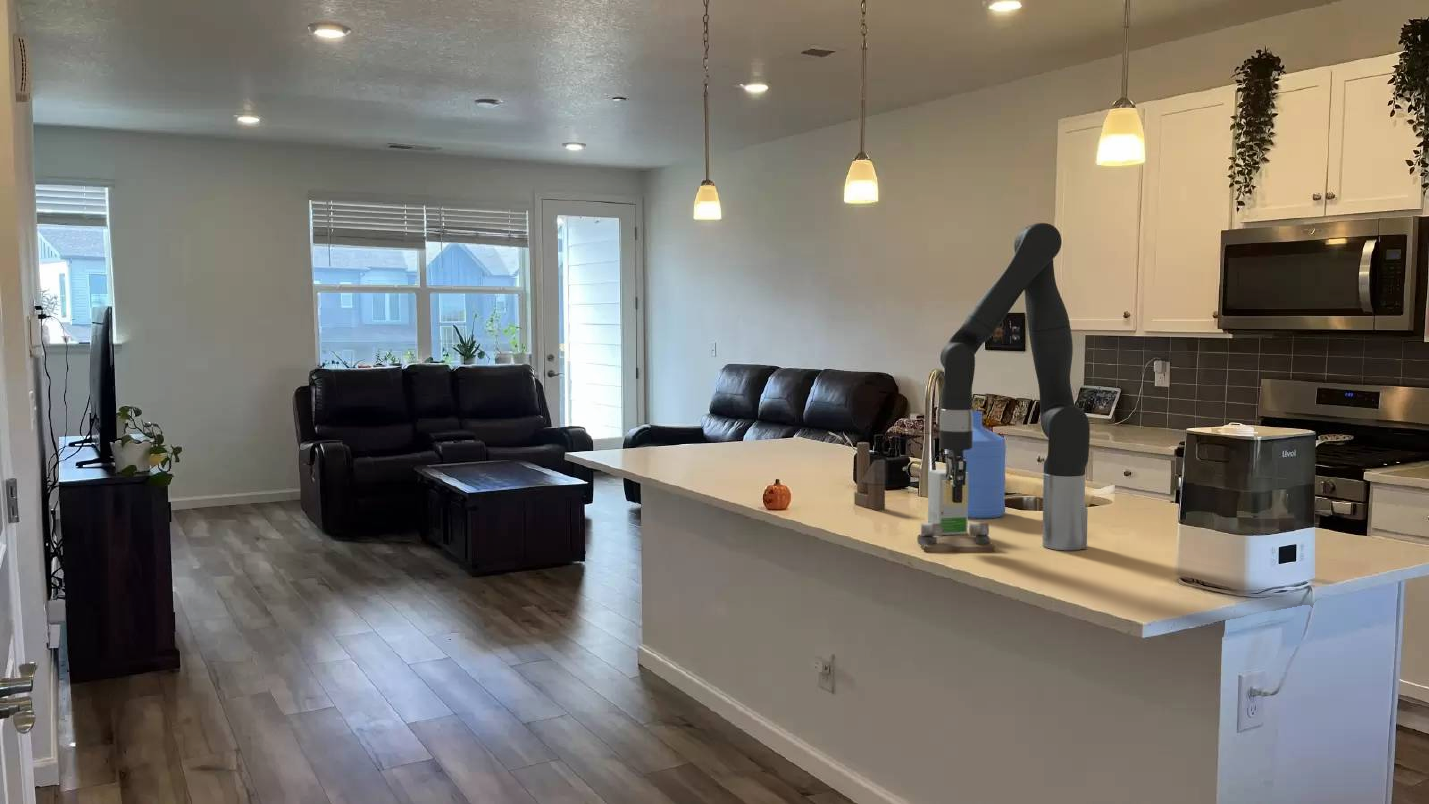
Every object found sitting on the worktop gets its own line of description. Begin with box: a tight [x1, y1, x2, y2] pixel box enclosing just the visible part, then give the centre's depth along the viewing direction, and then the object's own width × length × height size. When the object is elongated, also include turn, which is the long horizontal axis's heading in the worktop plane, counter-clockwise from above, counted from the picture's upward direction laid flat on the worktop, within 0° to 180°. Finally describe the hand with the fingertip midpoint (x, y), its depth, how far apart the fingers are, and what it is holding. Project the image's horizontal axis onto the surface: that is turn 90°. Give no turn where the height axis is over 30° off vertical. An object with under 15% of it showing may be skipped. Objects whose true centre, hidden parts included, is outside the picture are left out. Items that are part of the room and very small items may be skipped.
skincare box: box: [927, 469, 969, 536], centre depth 258 cm, size 8×7×16 cm
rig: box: [916, 522, 996, 553], centre depth 242 cm, size 16×11×6 cm, turn 87°
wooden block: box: [853, 441, 886, 511], centre depth 293 cm, size 4×11×18 cm, turn 24°
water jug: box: [946, 410, 1007, 520], centre depth 280 cm, size 16×16×28 cm
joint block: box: [942, 480, 968, 505], centre depth 241 cm, size 5×5×5 cm
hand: (954, 500), depth 241 cm, fingers closed on joint block, 5 cm apart
